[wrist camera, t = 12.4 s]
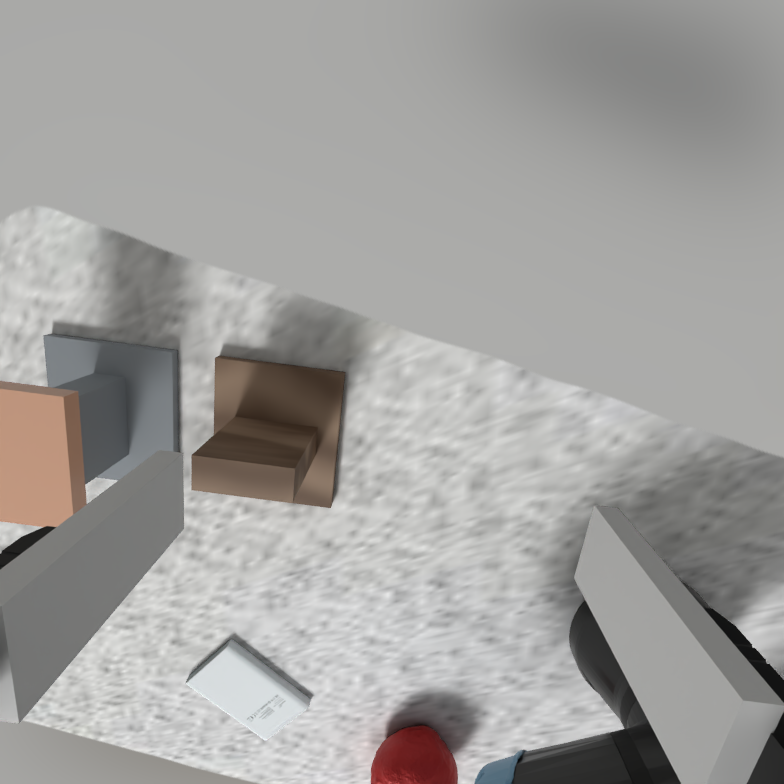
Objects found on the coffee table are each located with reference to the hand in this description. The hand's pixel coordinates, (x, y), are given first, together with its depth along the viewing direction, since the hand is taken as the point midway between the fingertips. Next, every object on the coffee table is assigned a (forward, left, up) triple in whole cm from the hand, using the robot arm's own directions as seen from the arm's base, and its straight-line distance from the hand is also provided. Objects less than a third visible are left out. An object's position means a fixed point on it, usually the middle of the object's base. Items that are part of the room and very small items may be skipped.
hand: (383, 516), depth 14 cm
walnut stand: (-10, +11, -29) cm, 32 cm away
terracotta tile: (-10, +27, -19) cm, 34 cm away
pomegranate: (-49, -8, -29) cm, 57 cm away
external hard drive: (-43, +13, -29) cm, 54 cm away
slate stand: (-10, +27, -29) cm, 40 cm away
